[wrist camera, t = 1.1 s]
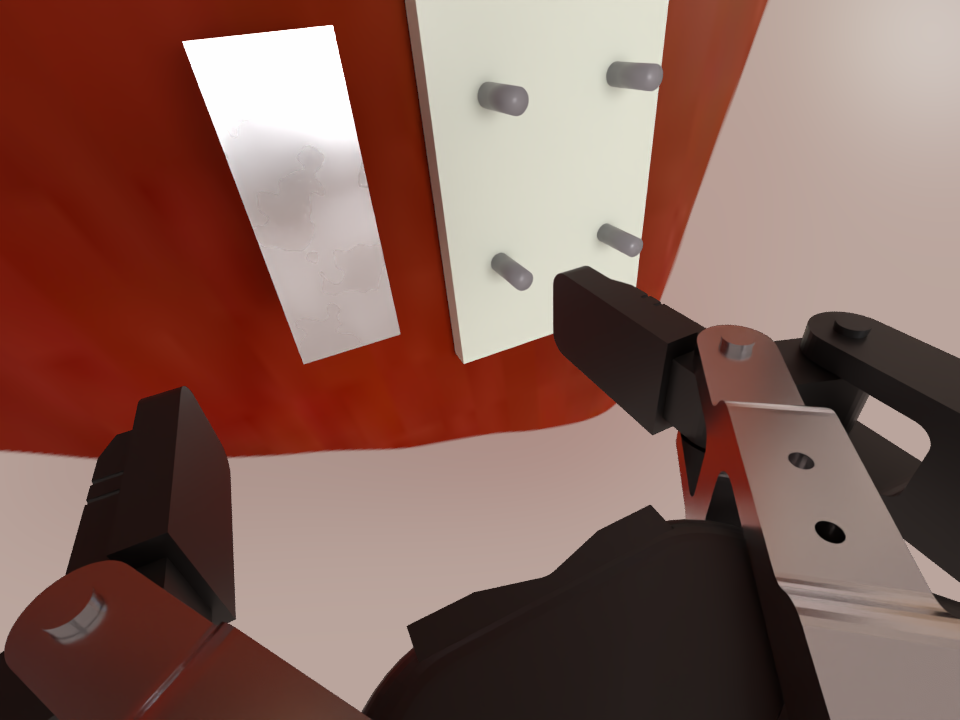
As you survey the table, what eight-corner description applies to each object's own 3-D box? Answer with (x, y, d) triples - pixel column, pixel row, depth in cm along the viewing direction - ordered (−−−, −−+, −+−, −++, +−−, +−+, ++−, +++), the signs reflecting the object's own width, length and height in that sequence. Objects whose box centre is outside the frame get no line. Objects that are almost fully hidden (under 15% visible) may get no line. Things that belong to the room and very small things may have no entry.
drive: (190, 40, 20) (182, 41, 14) (304, 28, 21) (335, 25, 16) (285, 299, 27) (303, 364, 21) (366, 277, 28) (402, 333, 23)
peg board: (394, -70, 20) (430, -91, 17) (657, -84, 25) (728, -103, 21) (455, 352, 33) (482, 388, 30) (620, 297, 37) (661, 323, 34)
